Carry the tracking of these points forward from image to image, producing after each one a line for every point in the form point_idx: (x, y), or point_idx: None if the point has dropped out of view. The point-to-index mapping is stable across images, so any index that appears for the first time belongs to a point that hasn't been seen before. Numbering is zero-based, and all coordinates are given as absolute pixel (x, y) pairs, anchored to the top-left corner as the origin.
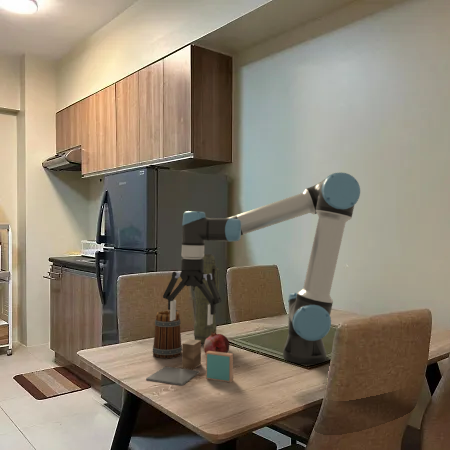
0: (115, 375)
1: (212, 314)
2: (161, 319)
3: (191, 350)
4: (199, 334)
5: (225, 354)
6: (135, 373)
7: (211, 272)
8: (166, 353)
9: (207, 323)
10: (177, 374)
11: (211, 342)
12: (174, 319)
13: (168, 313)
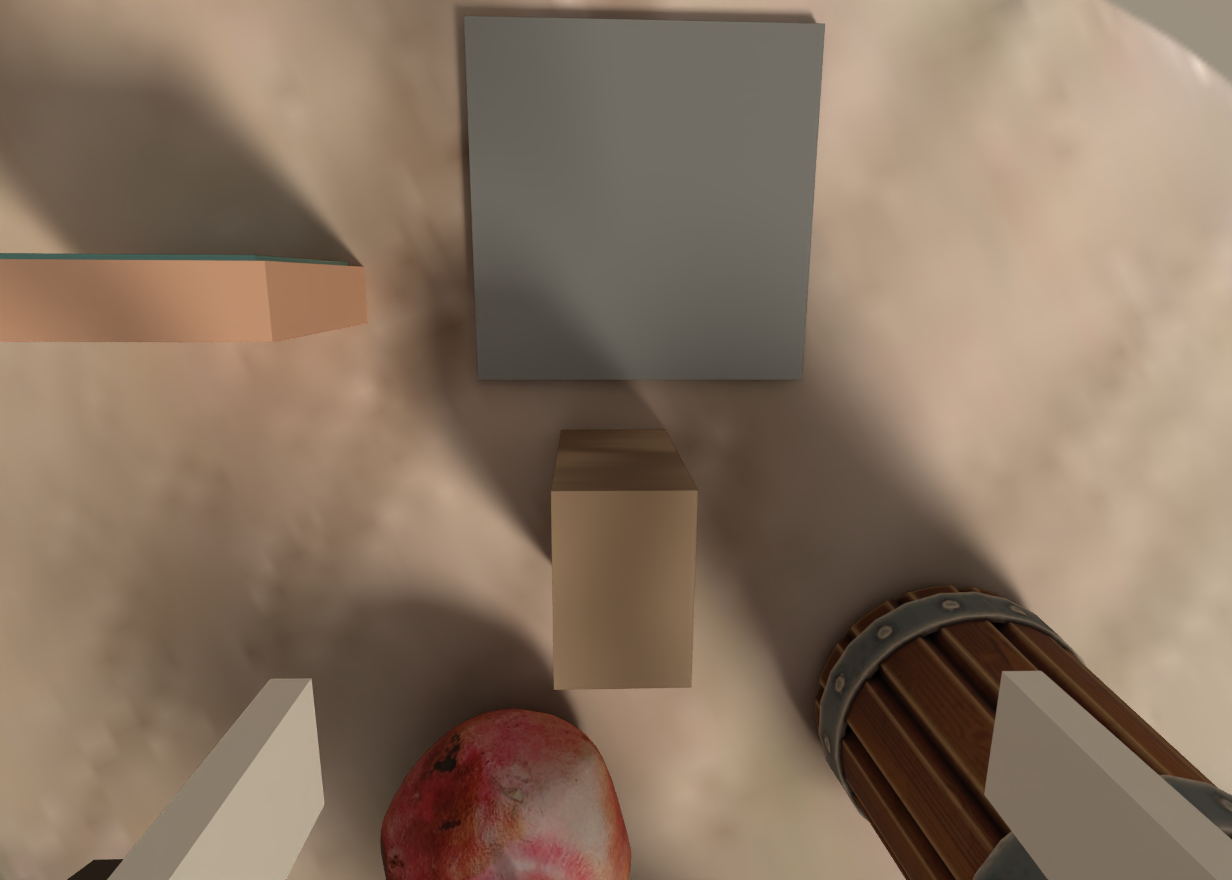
0: (1125, 29)
1: (112, 861)
2: None
3: (577, 473)
4: None
5: (9, 273)
6: (980, 148)
7: None
8: (910, 610)
9: (298, 695)
10: (611, 225)
11: (505, 797)
12: (992, 763)
13: None
